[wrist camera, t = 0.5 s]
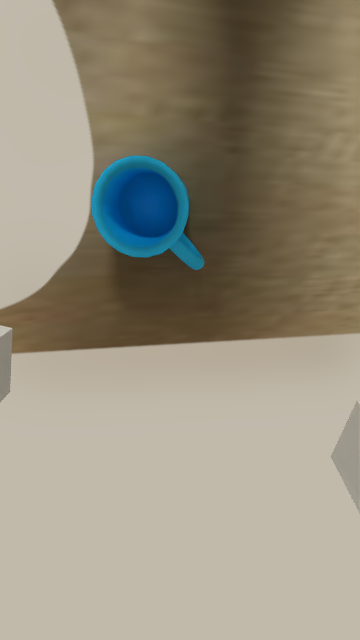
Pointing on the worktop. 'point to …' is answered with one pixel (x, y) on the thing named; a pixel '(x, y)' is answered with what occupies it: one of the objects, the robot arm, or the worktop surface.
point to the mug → (144, 210)
